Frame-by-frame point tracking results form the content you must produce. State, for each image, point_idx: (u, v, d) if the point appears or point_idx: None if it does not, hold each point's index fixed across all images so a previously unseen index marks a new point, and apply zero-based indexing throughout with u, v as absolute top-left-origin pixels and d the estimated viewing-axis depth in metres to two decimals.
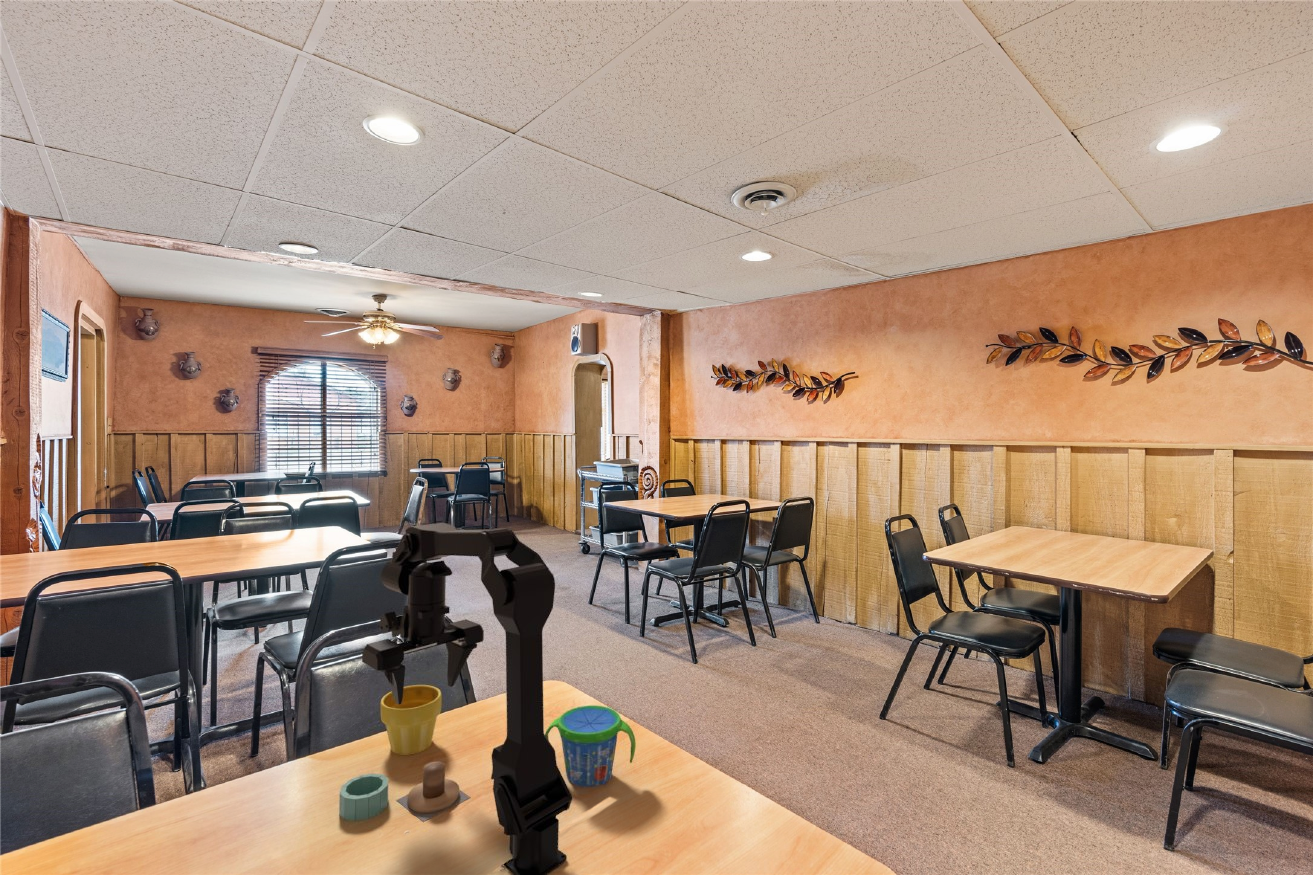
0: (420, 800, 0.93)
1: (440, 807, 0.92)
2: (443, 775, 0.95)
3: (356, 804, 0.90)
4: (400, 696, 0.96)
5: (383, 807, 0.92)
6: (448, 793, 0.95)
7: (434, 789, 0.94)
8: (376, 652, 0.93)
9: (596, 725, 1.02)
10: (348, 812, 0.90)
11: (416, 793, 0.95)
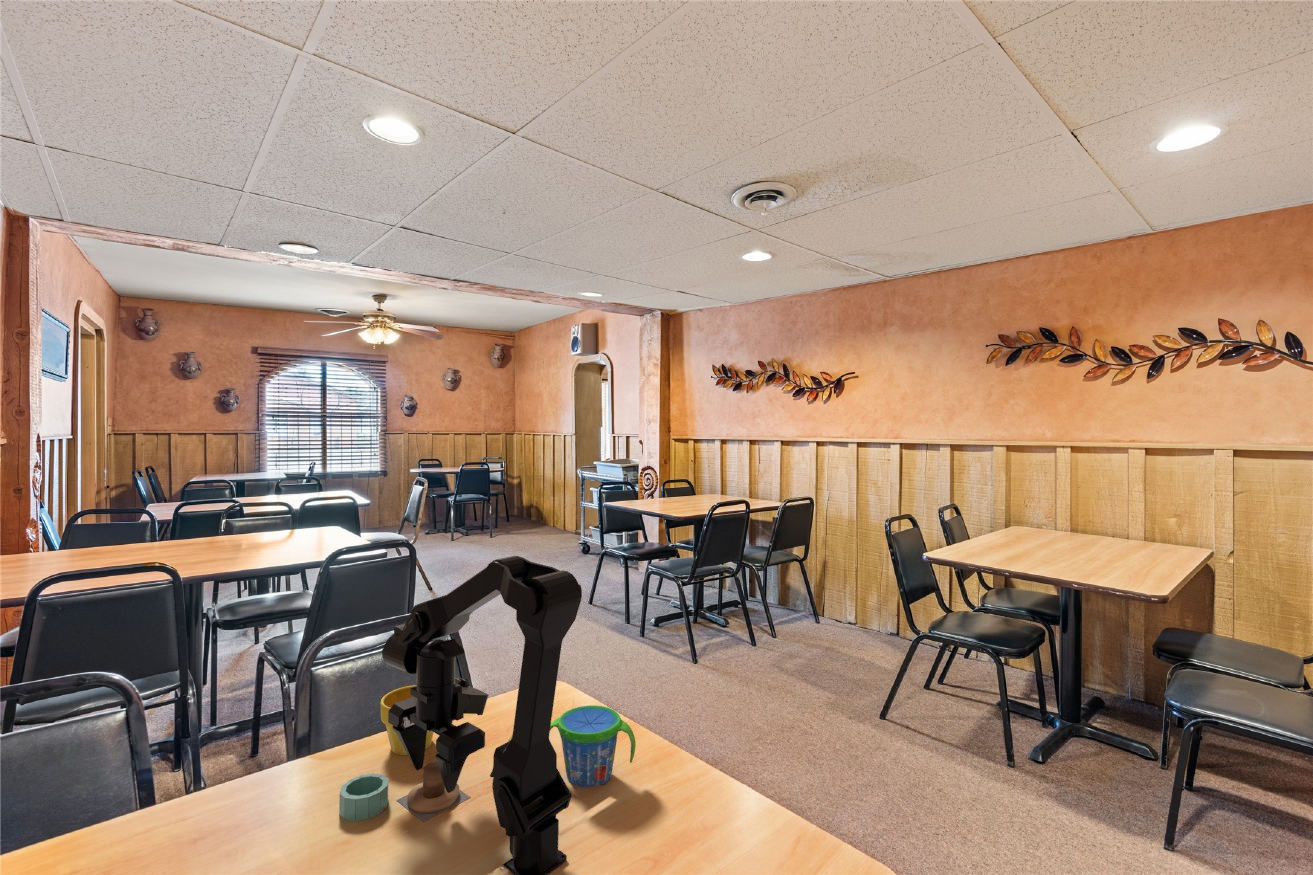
0: (420, 800, 0.93)
1: (440, 807, 0.92)
2: None
3: (356, 804, 0.90)
4: (411, 761, 0.98)
5: (383, 807, 0.92)
6: (448, 793, 0.95)
7: (434, 789, 0.94)
8: None
9: (595, 725, 1.02)
10: (348, 812, 0.90)
11: (416, 793, 0.95)
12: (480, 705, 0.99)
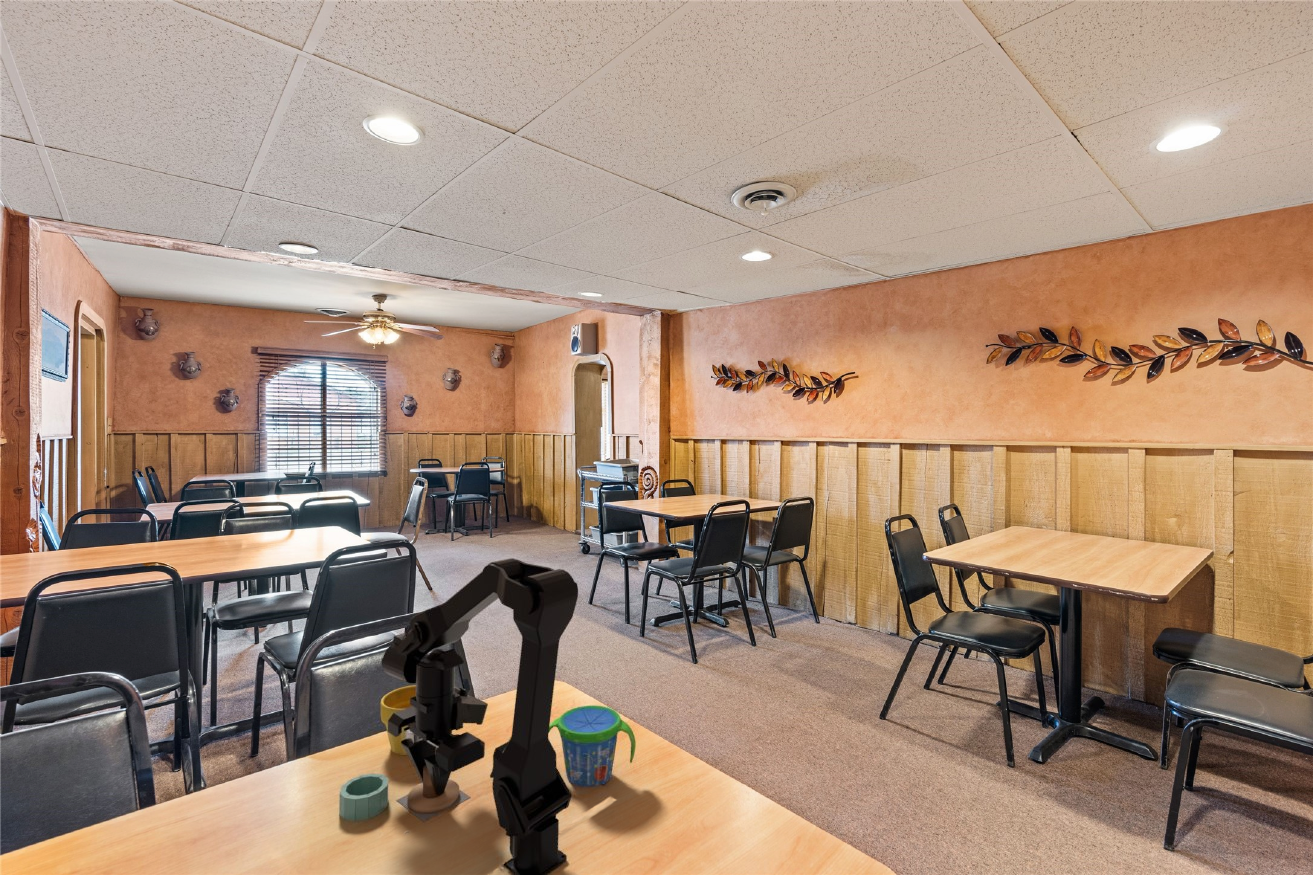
0: (420, 800, 0.93)
1: (440, 807, 0.92)
2: None
3: (356, 804, 0.90)
4: (420, 777, 0.96)
5: (383, 807, 0.92)
6: (448, 793, 0.95)
7: None
8: None
9: (596, 725, 1.02)
10: (348, 812, 0.90)
11: (416, 793, 0.95)
12: (480, 714, 0.99)
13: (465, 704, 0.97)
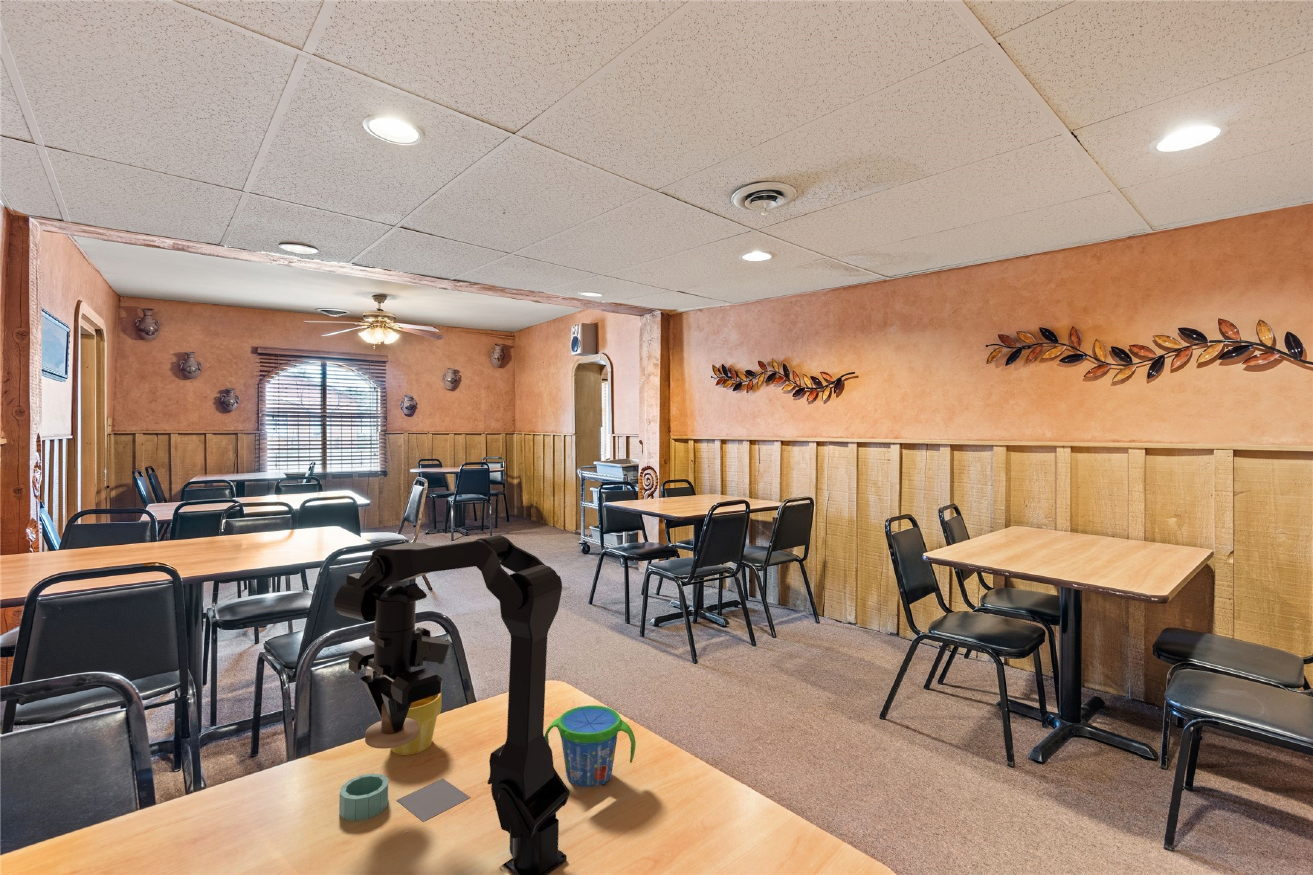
0: (377, 735, 0.92)
1: (397, 742, 0.91)
2: None
3: (356, 804, 0.90)
4: (379, 714, 0.95)
5: (383, 807, 0.92)
6: (407, 730, 0.94)
7: None
8: None
9: (596, 725, 1.02)
10: (348, 812, 0.90)
11: (375, 729, 0.94)
12: (441, 654, 0.97)
13: (426, 642, 0.96)
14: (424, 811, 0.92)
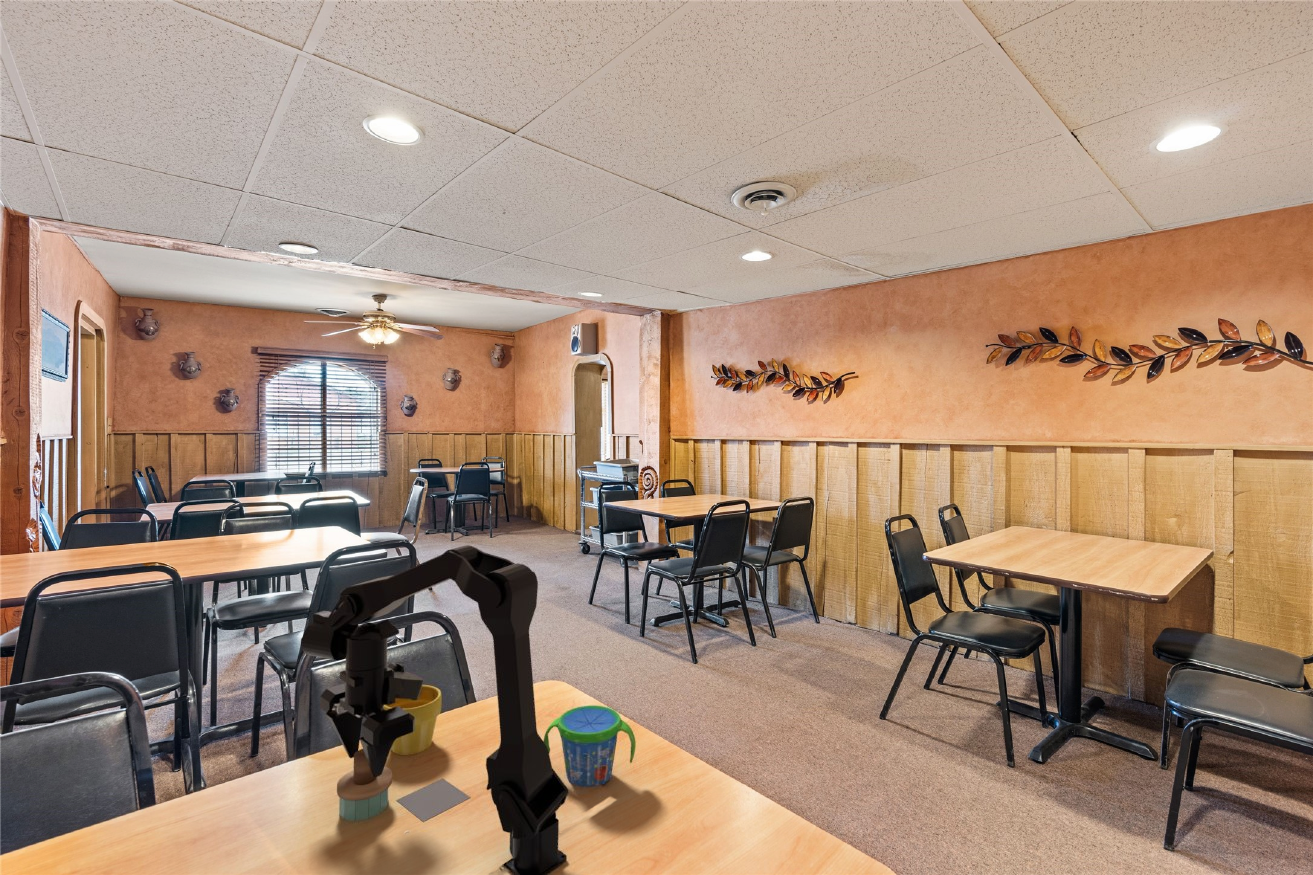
0: (349, 787, 0.91)
1: (369, 794, 0.90)
2: None
3: (356, 804, 0.90)
4: (345, 748, 0.95)
5: (383, 807, 0.92)
6: (380, 780, 0.93)
7: (364, 775, 0.92)
8: None
9: (596, 725, 1.02)
10: (348, 812, 0.90)
11: (347, 779, 0.93)
12: (414, 690, 0.96)
13: (398, 679, 0.95)
14: (424, 811, 0.92)
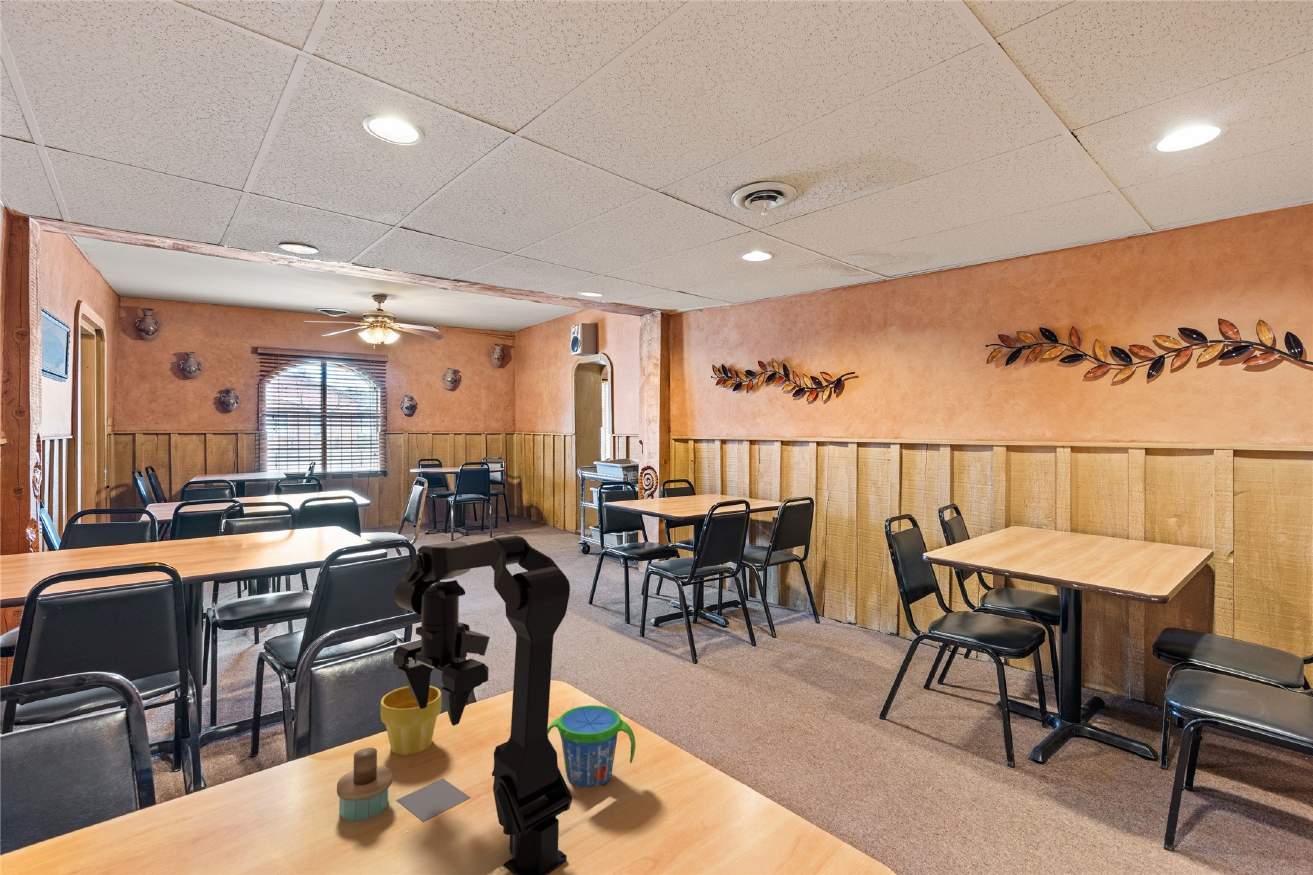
0: (349, 787, 0.91)
1: (369, 794, 0.90)
2: (375, 761, 0.93)
3: (356, 804, 0.90)
4: (416, 699, 1.02)
5: (383, 807, 0.92)
6: (380, 780, 0.93)
7: (364, 775, 0.92)
8: None
9: (596, 725, 1.02)
10: (348, 812, 0.90)
11: (347, 779, 0.93)
12: (482, 646, 1.03)
13: (468, 635, 1.01)
14: (424, 811, 0.92)
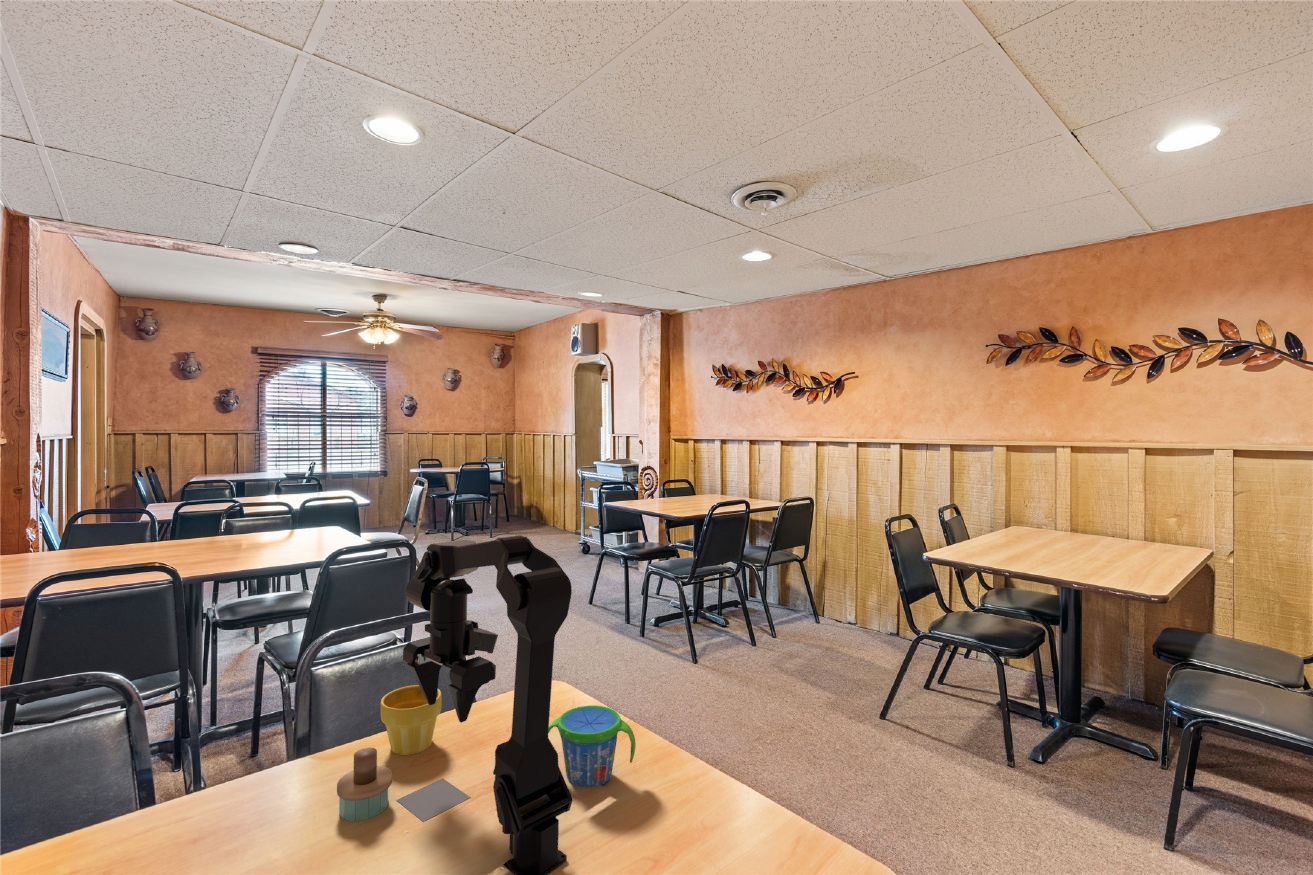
0: (349, 787, 0.91)
1: (369, 794, 0.90)
2: (375, 761, 0.93)
3: (356, 804, 0.90)
4: (425, 696, 1.03)
5: (383, 807, 0.92)
6: (380, 780, 0.93)
7: (364, 775, 0.92)
8: None
9: (596, 725, 1.02)
10: (348, 812, 0.90)
11: (347, 779, 0.93)
12: (490, 644, 1.04)
13: (477, 632, 1.02)
14: (424, 811, 0.92)
